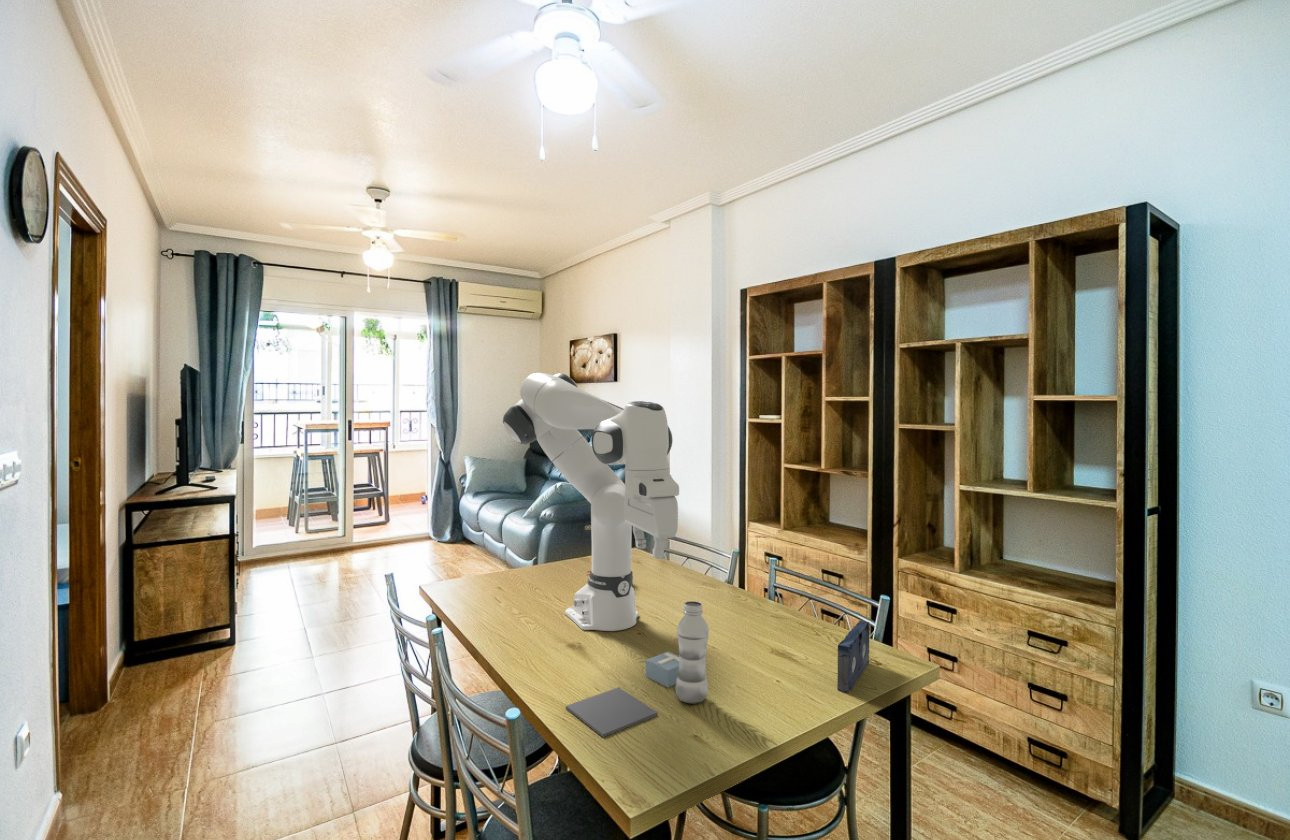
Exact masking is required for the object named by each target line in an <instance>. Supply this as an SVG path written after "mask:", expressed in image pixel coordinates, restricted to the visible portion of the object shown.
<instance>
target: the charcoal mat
mask: <svg viewBox="0 0 1290 840" xmlns="http://www.w3.org/2000/svg"><path fill="white" fill-rule="evenodd" d="M565 709H566V710H567V711H568V712H569V713H571V714H572V715H573V714H574V715H575V716H574V715H573V716H574V717H576V716H577V717H578V718H579V719H578V718H577V717H576V718H577V719H578V720H579V721H581V720H582V721H583V722H584V723H583V722H582V721H581V722H582V723H583V724H585V723H586V724H587V725H588V726H587V725H586V724H585V725H586V726H587V727H589V728H590V727H591V728H592V729H593V730H592V729H591V728H590V729H591V730H592V731H594V732H595V731H596V732H597V733H598V735H599V734H600V735H601V736H602V737H601V736H600V735H599V736H600V737H601V738H605V737H604V736H606V737H608V736H610V735H609V734H611V735H613V734H615V733H614V732H616V731H618V732H621V731H623V730H625V729H627V727H628V728H630V727H633V726H636V725H638V724H639V723H643V722H645V721H647V720H649V719H650V720H651V719H652V718H654V717H657V716H658V715H659V714H658V713H659V712H658V711H656V710H655V709H653V708H651V707H650V706H649V705H647V704H646V703H644V702H643V701H641V700H639V699H638V698H637V697H635V696H633V695H632V694H631V693H629V692H627V691H625V690H623V689H622V688H621V687H616V688H613V689H610V690H607V691H604V692H602V693H598V694H596V695H592V696H589V697H588V698H587V697H586V698H585V699H582V700H579V701H576V702H573V703H570V704H568V705H567V704H566V706H565ZM642 721H643V722H642ZM596 732H595V733H596ZM597 733H596V734H597ZM612 733H613V734H612ZM616 733H617V732H616ZM607 735H608V736H607Z"/></svg>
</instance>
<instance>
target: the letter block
mask: <svg viewBox="0 0 1290 840" xmlns="http://www.w3.org/2000/svg"><path fill="white" fill-rule="evenodd" d="M678 668H679V655H677V654H675V653H673V652H670V651H665V652H663V653H660V654H658V655H655V656H653V657H650V658H647V659H646V660H645V677H646V678H648V679H650V680H652V681H654V682H656V683H657V684H660V685H663V686H664V687H667V688H670V687H672V686H675V685H676V680H677V676H678ZM674 684H675V685H674Z"/></svg>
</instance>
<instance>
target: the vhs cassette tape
mask: <svg viewBox="0 0 1290 840" xmlns="http://www.w3.org/2000/svg"><path fill="white" fill-rule="evenodd" d="M870 628H871V626H870V622H868V621H864V620H859V621H858V622H857V623H856V624H855V625H854V626H853V628H851V630H849V631H848V633H847V634H846V635H845V637H844V638H843V640H841V641H840V642H839V643H838V644H837V678H836V679H837V681H836V682H837V685H836V686H837V687H836V688H837V691H841V692H843V693H844V692H845V693H847V692H848V694H849V693H850V692H851V690H852V689H853V688H854V686H855V685H856V683H857V682H858V680H859V679H860V677H861V676H860V675H862V674H863V673H864V671H865V670H866V668H867V667H868V665H869V664H870V655H869V654H870V632H871V631H870V630H871V629H870ZM858 678H859V679H858ZM856 681H857V682H856ZM849 691H850V692H849Z"/></svg>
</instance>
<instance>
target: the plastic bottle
mask: <svg viewBox="0 0 1290 840" xmlns="http://www.w3.org/2000/svg"><path fill="white" fill-rule="evenodd" d="M683 604H684V605H683V614H684V615H683V616H682V618H681V620H680V621H679V623H678V625H677V627H676V630H677V633H676V634H677V641H678V642H677V643H678V654H679V655H678V656H679V668H678V676H677V680H676V684H675V685H674V687H675V694H676V697H677V698H678V699H679V701H681V702H683V703H686V704H699V703H701V702H704V700H706V698H707V695H708V691H709V690H708V689H709V685H708V678H707V669H706V668H707V665H706V664H707V663H706V658H707V657H706V656H707V647H708V640H709V635H710V628H709V625H708V623H707V621H706V620H705V619H704V617H703V615H702V614H703V612H704V610H703V603H702V602H699V601H697V600H690V601H689V600H688V601H685V602H684V603H683Z"/></svg>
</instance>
